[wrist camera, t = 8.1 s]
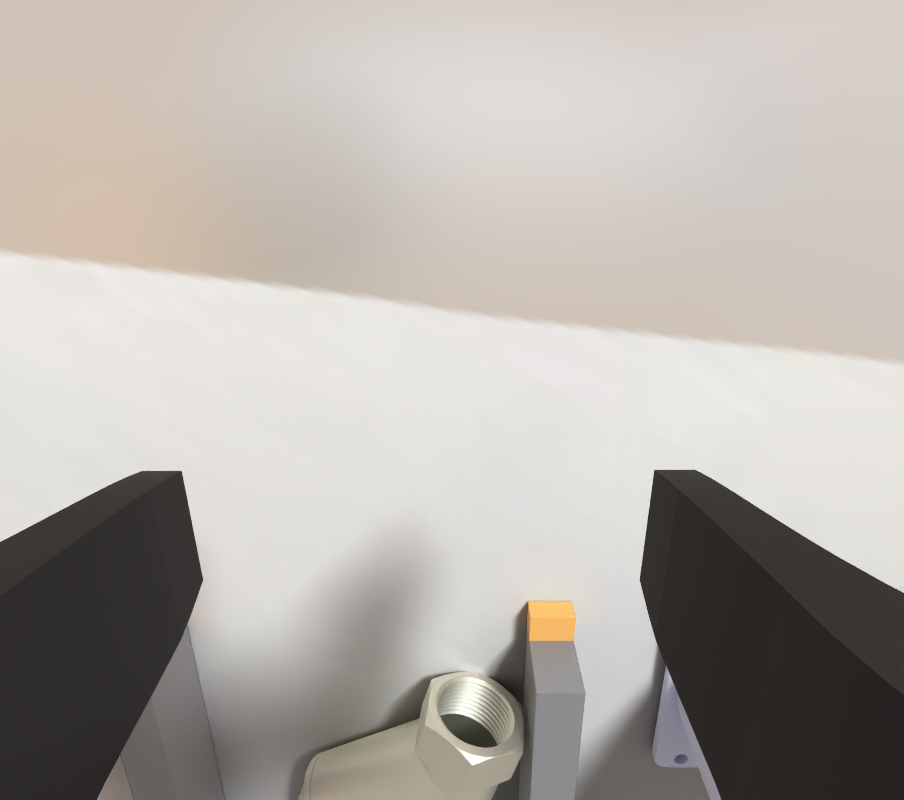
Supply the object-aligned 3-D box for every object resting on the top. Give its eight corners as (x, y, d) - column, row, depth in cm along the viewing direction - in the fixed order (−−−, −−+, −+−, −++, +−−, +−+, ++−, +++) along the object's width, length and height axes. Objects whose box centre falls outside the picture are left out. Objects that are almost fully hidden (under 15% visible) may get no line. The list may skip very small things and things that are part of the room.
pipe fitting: (306, 774, 27) (461, 818, 27) (274, 873, 23) (454, 922, 23) (347, 630, 24) (522, 680, 24) (318, 718, 20) (525, 777, 20)
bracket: (571, 601, 22) (587, 668, 20) (551, 843, 27) (562, 924, 25) (139, 601, 22) (94, 668, 20) (199, 842, 28) (170, 922, 25)
